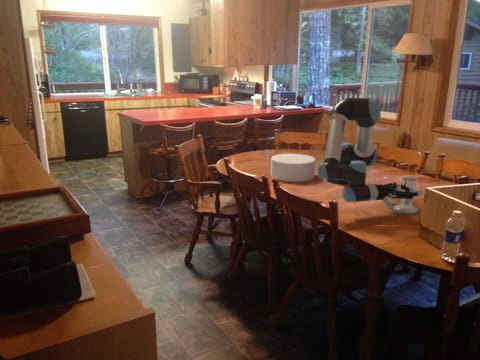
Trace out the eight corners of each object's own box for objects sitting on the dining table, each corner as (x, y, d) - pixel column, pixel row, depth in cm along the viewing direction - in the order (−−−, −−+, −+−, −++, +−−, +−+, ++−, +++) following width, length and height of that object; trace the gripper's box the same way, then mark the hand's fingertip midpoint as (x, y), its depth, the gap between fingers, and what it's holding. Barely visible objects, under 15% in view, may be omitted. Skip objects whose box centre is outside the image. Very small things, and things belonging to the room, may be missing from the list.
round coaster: (398, 213, 200) (398, 211, 200) (390, 205, 211) (391, 204, 211) (421, 213, 200) (421, 212, 200) (412, 206, 210) (413, 204, 210)
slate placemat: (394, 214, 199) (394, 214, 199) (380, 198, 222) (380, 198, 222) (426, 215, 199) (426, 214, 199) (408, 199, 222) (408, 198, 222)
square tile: (391, 205, 212) (391, 203, 212) (385, 198, 221) (385, 197, 221) (411, 205, 211) (411, 203, 211) (404, 199, 221) (404, 197, 221)
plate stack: (313, 183, 252) (314, 164, 249) (267, 180, 257) (268, 162, 254) (315, 171, 278) (315, 154, 275) (273, 169, 283) (273, 152, 280)
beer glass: (409, 205, 208) (413, 177, 204) (416, 210, 202) (419, 181, 197) (396, 206, 208) (399, 177, 204) (402, 210, 201) (405, 181, 197)
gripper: (361, 192, 211) (400, 189, 215) (387, 208, 189) (429, 204, 194) (363, 178, 209) (402, 176, 213) (389, 192, 187) (431, 189, 191)
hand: (415, 189), depth 203 cm, fingers open, 11 cm apart
